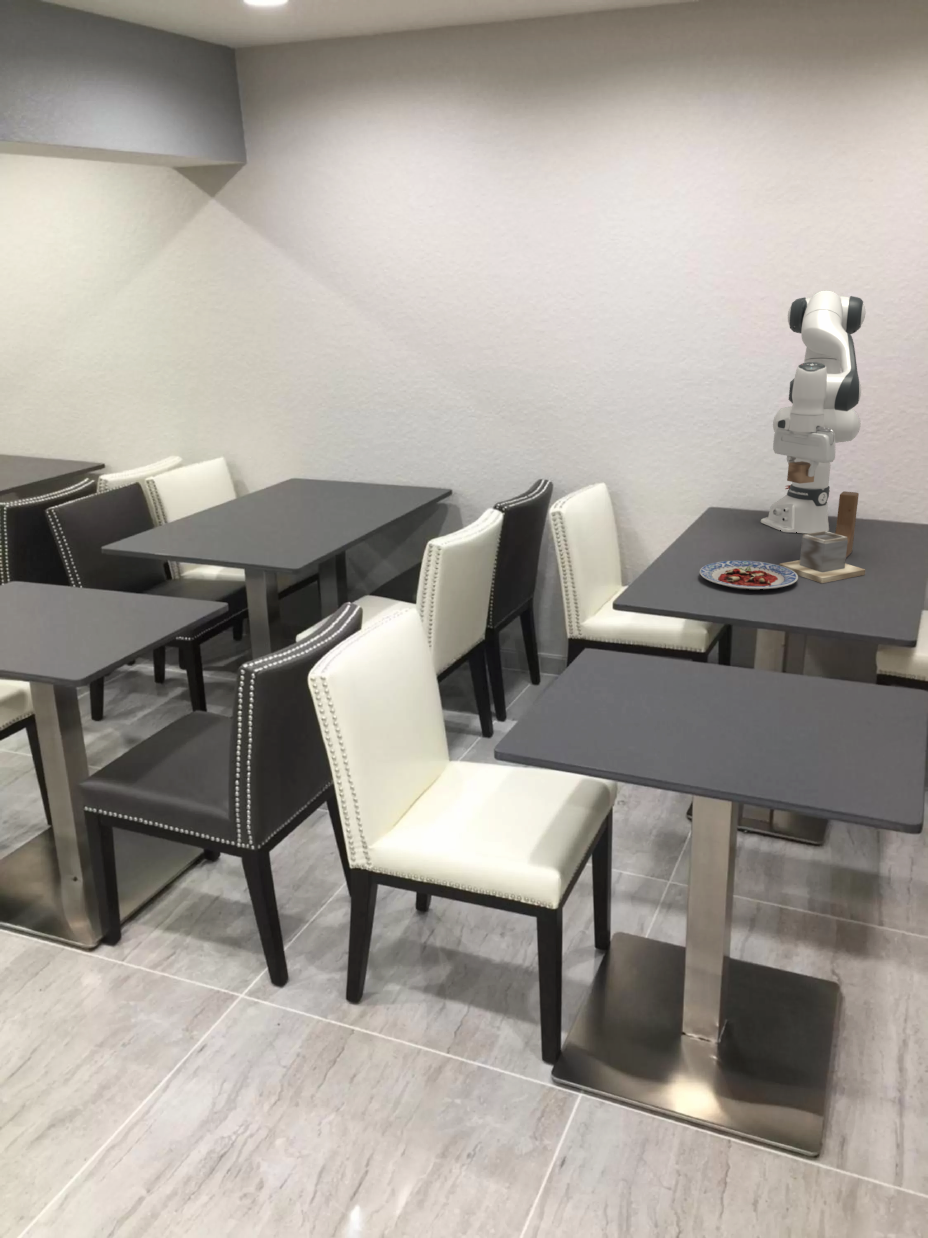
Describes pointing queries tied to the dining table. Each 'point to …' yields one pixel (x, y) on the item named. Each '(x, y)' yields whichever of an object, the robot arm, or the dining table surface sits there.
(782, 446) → the robot arm
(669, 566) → the dining table surface
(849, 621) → the dining table surface
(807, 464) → the walnut cube
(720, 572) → the ceramic plate
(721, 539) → the dining table surface
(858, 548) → the dining table surface
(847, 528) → the wooden block
